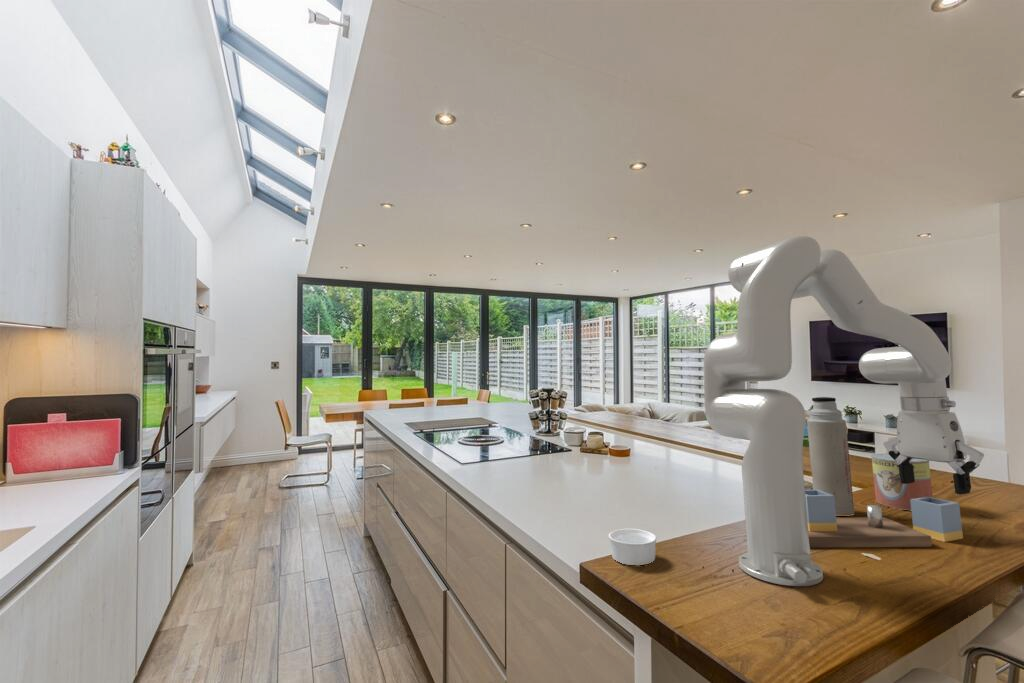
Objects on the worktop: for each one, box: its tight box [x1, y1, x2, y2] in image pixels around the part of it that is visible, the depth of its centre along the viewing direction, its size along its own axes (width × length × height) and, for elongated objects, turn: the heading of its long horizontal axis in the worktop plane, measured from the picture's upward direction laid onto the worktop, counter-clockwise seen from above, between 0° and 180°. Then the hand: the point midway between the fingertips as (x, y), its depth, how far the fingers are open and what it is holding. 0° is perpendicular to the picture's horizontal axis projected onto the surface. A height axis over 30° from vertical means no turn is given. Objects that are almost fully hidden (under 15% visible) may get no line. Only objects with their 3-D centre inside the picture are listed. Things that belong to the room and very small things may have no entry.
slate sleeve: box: [910, 497, 964, 543], centre depth 93 cm, size 5×5×7 cm
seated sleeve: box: [805, 489, 837, 531], centre depth 95 cm, size 5×5×7 cm
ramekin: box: [608, 528, 657, 566], centre depth 86 cm, size 9×9×4 cm
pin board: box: [808, 504, 933, 548], centre depth 94 cm, size 12×24×6 cm, turn 86°
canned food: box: [870, 453, 934, 511], centre depth 114 cm, size 11×11×12 cm
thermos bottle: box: [806, 396, 855, 515], centre depth 111 cm, size 8×8×28 cm
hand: (934, 488), depth 94 cm, fingers open, 9 cm apart
